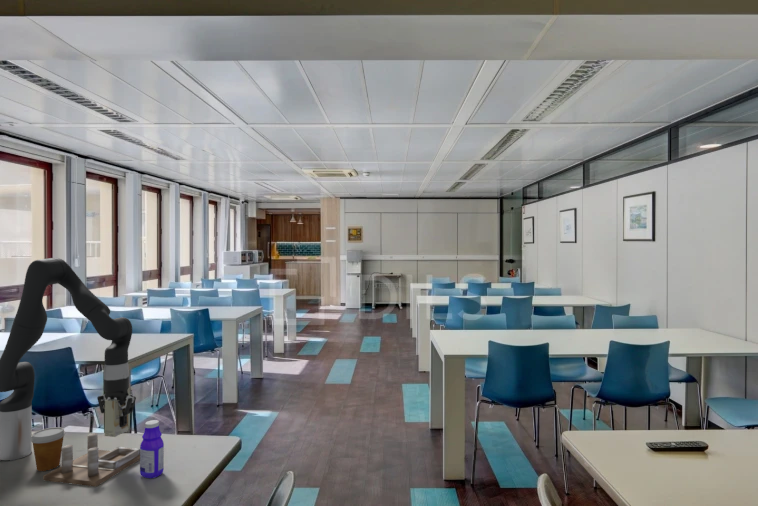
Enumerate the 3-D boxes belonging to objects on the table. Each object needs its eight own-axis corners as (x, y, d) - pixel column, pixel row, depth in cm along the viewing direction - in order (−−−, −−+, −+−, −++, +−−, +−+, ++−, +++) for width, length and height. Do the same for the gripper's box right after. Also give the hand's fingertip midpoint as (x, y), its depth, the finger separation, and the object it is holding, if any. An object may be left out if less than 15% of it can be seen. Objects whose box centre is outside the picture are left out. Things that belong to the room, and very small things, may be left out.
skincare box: (114, 437, 151) (114, 401, 151) (103, 436, 152) (103, 400, 152) (129, 430, 157) (129, 395, 157) (118, 429, 158) (118, 394, 158)
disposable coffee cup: (71, 463, 155) (71, 429, 155) (41, 476, 147) (41, 439, 147) (55, 458, 159) (54, 424, 159) (24, 470, 151) (24, 434, 151)
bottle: (167, 472, 148) (167, 420, 148) (153, 480, 143) (153, 426, 143) (150, 469, 151) (150, 417, 151) (136, 477, 145) (136, 423, 145)
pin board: (43, 480, 144) (43, 450, 144) (94, 453, 163) (94, 427, 163) (95, 486, 139) (95, 456, 140) (142, 458, 159) (142, 431, 159)
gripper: (89, 378, 152) (90, 428, 152) (126, 380, 149) (126, 431, 149) (107, 372, 160) (107, 420, 159) (142, 374, 157) (142, 423, 156)
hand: (116, 425), depth 154 cm, fingers closed on skincare box, 4 cm apart
